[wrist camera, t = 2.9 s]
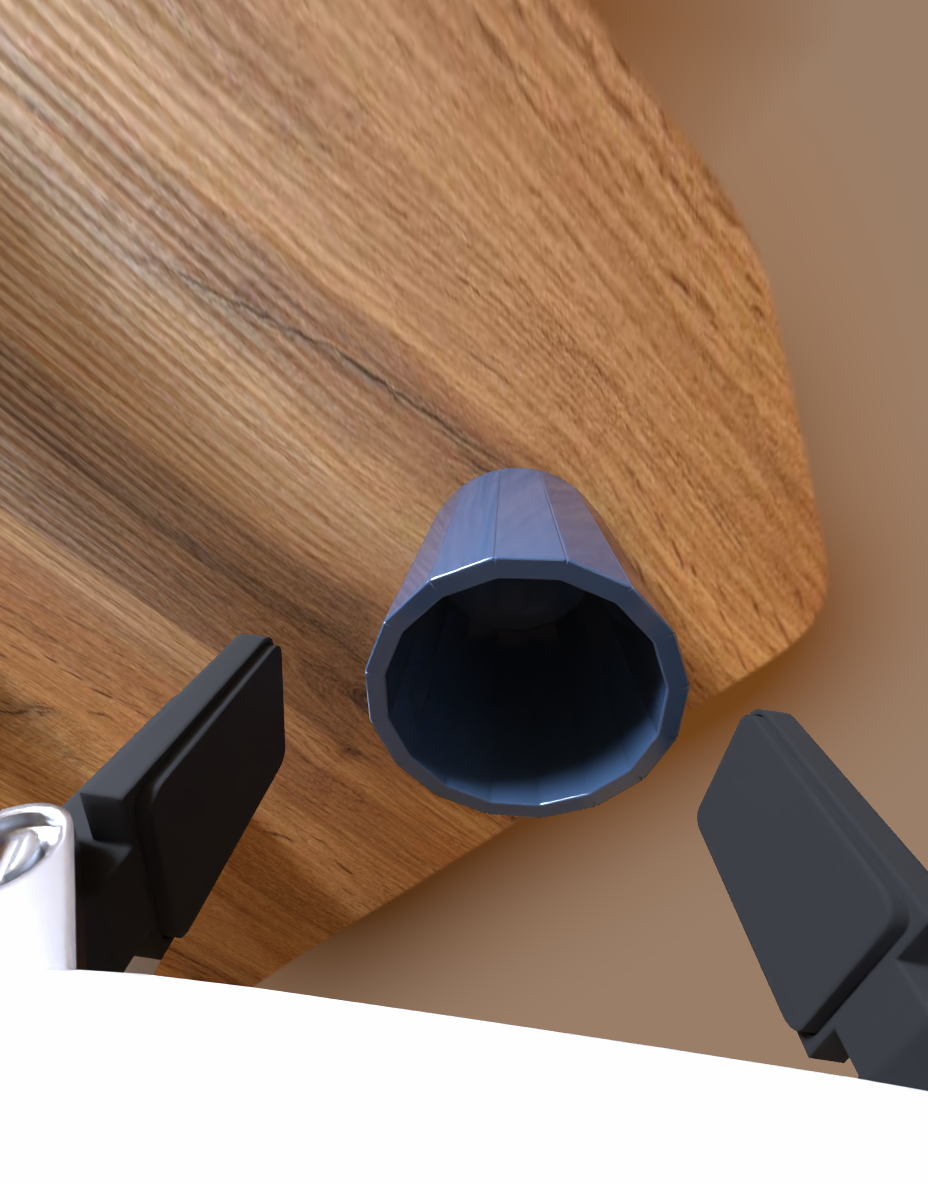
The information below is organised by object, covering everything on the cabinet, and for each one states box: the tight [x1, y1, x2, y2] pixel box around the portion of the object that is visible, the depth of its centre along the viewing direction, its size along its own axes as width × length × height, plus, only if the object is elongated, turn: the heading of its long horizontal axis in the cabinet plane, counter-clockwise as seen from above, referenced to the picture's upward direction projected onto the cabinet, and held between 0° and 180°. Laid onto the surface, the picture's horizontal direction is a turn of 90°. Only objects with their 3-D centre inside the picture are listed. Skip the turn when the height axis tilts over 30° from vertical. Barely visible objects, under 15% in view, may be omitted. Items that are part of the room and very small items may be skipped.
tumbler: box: [365, 468, 689, 818], centre depth 14 cm, size 7×7×9 cm
